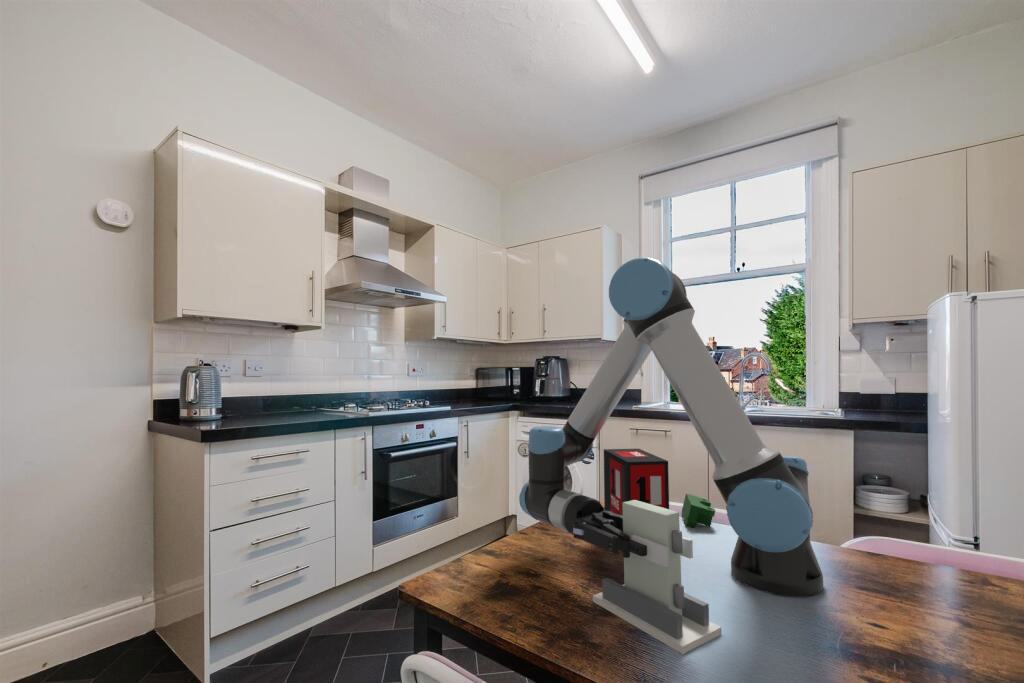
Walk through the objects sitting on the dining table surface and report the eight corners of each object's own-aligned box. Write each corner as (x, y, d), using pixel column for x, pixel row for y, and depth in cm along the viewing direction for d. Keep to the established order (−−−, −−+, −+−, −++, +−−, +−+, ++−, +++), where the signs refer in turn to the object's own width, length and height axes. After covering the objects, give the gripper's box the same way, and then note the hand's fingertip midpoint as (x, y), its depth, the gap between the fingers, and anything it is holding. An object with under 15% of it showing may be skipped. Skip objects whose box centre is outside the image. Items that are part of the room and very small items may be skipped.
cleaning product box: (670, 557, 99) (668, 461, 101) (629, 559, 98) (627, 462, 100) (640, 531, 116) (638, 448, 117) (604, 532, 115) (603, 449, 116)
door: (624, 601, 78) (622, 502, 80) (637, 596, 80) (634, 499, 81) (677, 629, 70) (674, 517, 71) (690, 623, 71) (686, 514, 72)
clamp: (706, 545, 119) (717, 516, 115) (681, 537, 120) (691, 509, 117) (704, 513, 129) (713, 487, 126) (681, 506, 131) (690, 480, 127)
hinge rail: (592, 601, 80) (592, 577, 81) (630, 588, 85) (629, 565, 86) (682, 654, 65) (682, 624, 66) (721, 634, 70) (720, 606, 71)
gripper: (611, 526, 96) (715, 565, 76) (539, 544, 86) (638, 594, 66) (611, 488, 96) (714, 517, 77) (539, 501, 86) (637, 539, 67)
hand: (678, 553), depth 72 cm, fingers open, 5 cm apart
